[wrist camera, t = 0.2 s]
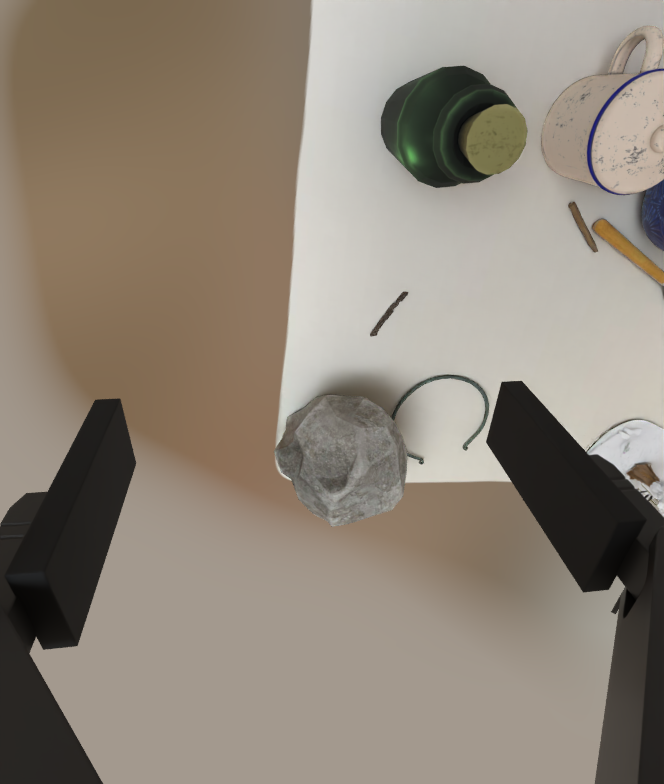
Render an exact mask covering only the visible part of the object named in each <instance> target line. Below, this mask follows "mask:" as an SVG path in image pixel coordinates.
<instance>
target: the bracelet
mask: <svg viewBox="0 0 664 784" xmlns="http://www.w3.org/2000/svg"><path fill="white" fill-rule="evenodd" d="M449 378H452V379H458V380H462V381H465V382H468V383H470V384H472V385H473V386H475V387H476V388H477V389H478V390H479V391H480V392H481V394H482V395H483V398H484V401H485V407H486V411H485V416H484V420H483V423H482V425H481V426H480V428H479V430H478V431H477V432H476V433H475V434H474V435H473V436H472V437H471V438H470V439H469V440H468V441H467V442H466V443H465V444H464V446H463V449H464V450H465V451H466V450H467V449H468V447H467V445H468V444H469V443H470V442H471V441H472V440H473V439H474V438H475V437H476V436H477V435H478V434H479V433H480V432H481V430H482V429H483V427H484V425H485V423H486V420H487V416H488V411H489V403H488V399H487V396H486V394H485V392H484V391H483V389H482V388H481V387H479V385H478V384H476V383H475V382H474V381H471V380H470V379H467V378H464V377H459V376H454V375H444V376H438V377H434V378H430V379H428V380H426V381H424V382H421V383H419V384H418V385H416V386H415V387H414V388H412V389H411V390H410V391H409V392H408V393H407V394H406V395H405V396H404V397H403V398H402V399H401V400H400V402H399V403H398V405H397V406H396V408H395V410H394V412H393V415H392V420H393V421H394V419H395V416H396V413H397V411H398V409H399V408H400V406H401V404H402V403H403V402H404V401H405V400H406V398H407V397H408V396H410V395H411V394H412V393H413V392H414V391H415V390H416V389H418V388H419V387H421V386H422V385H424V384H426V383H429V382H432V381H434V380H439V379H449ZM407 456H409V457H411V458H414V459H417V460H420V461H419V463H420V464H423V463H424V461H423V459H422V458H419V457H416V456H414V455H411V454H409V453H407ZM421 461H422V462H421Z"/></svg>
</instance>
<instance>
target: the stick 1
mask: <svg viewBox="0 0 664 784" xmlns="http://www.w3.org/2000/svg"><path fill="white" fill-rule="evenodd" d="M407 295H408V292H403V293H402V294H401V295H400V297H399V298H398V299H397V300H396V302H395V303H393V304H392V305H391V306H390V307H389V308H388V310H387V311H386V313H385V315H384V316H383V317H382V318H381V319H380V321H379V322H378V324H377V325H376V327H375V328H374V329H373V331H372V332H371V334H370V336H376V335H377V332H378V331H379V329H380V328H381V326H382V325H383V323H384V322H385V320H387V319H388V318H389V316H390V315H391V314H392V313H393V309H394V308H395V307H396V306H398V304H399V302H400V301H402V300H403V299H404V298H405V297H406V296H407Z"/></svg>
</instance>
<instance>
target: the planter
mask: <svg viewBox="0 0 664 784" xmlns="http://www.w3.org/2000/svg"><path fill="white" fill-rule="evenodd" d="M642 224H643V228H644V230H645V232H646V234H647V236H648V238H649V239H650V240H651V241H652V242H653V243H654V244H655V245H656V246H657V247H658V248H660V249H661V250H663V251H664V179H663V180H662V181H661V182H659V183H658V184H656V185H654V186H653V187H651V188H649V189H647V191H646V194H645V197H644V200H643V205H642Z"/></svg>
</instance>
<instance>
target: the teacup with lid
mask: <svg viewBox="0 0 664 784" xmlns="http://www.w3.org/2000/svg"><path fill="white" fill-rule="evenodd" d="M644 39H645V40H646V53H645V57H644V60H643V64H642V67H641V70H640V73H639V74H623V72H624V68H625V65H626V63H627V60H628V58H629V56H630V54H631V52H632V51H633V49H634V48H635V47H636V46H637V45H638V44H639V43H640V42H641V41H642V40H644ZM663 46H664V39H663V34H662V31H661V30H660V29H659V28H658V27H656V26H643V27H640V28H638V29H636V30H635V31H633V32H632V33H630V34H629V35H628V36H627V37H626V38H625V39H624V41H623V42H622V43H621V44H620V46H619V47H618V49H617V51H616V53H615V55H614V57H613V60H612V62H611V65H610V68H609V72H608V75H595V76H590V77H586V78H584V79H581V80H579V81H577V82H576V83H574V84H572V85H571V86H570V87H568V88H567V89H566V90H565V91H564V92H563V93H562V94H561V95H560V96H559V97H558V99H557V100H556V101H555V103H554V104H553V106H552V107H551V109H550V111H549V113H548V115H547V117H546V120H545V123H544V127H543V131H542V151H543V155H544V158H545V160H546V162H547V164H548V165H549V167H550V168H551V169H552V170H553V171H554V172H556V173H557V174H559V175H561V176H564V177H567V178H571V179H574V180H578V181H581V182H585V183H588V184H592V185H596V186H599V187H600V188H602V189H603V190H605V191H607V192H609V193H612V194H617V195H629V194H634V193H638V192H641V191H644V190H647V189H649V188H651V187H653V186H654V185H656V184H658V183H659V182H661V181H662V180H663V179H664V69H658V66H659V63H660V60H661V56H662V52H663Z"/></svg>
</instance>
